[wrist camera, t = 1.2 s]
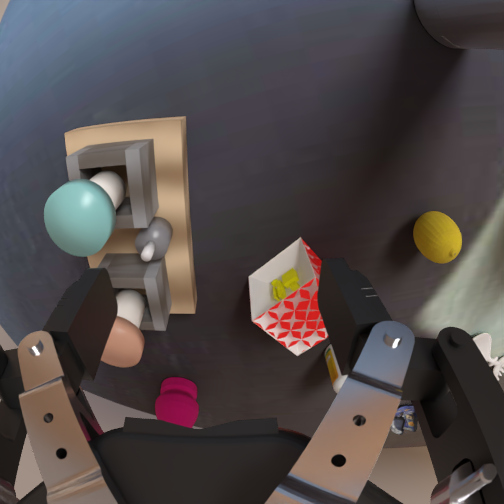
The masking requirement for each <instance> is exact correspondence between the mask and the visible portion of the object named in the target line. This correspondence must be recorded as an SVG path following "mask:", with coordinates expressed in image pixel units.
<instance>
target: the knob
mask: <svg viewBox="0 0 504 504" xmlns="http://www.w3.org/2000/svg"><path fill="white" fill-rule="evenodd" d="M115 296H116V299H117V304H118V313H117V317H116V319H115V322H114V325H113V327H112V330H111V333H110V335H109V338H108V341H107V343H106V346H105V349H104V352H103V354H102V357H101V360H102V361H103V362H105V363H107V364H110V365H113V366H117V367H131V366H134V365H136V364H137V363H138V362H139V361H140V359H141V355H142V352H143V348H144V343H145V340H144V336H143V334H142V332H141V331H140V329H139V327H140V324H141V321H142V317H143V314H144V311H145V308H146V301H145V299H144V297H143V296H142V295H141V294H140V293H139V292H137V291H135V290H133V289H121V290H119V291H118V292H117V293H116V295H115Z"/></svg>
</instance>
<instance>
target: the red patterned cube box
mask: <svg viewBox="0 0 504 504" xmlns="http://www.w3.org/2000/svg"><path fill="white" fill-rule="evenodd" d="M321 263H322V261H321V260H320V259H319V257H318V256H317V255H316V254H315V253H314V252H313V251H312V250H311V248H310V247H309V246H308V245H307V244H306V243H305V241H304V240H303V239H301V237H300V238H299V239H298V240H296V241H295V242H294V243H292V244H291V245H290V246H289V247H287V248H286V249H285V250H283V251H282V252H281V253H279V254H278V255H277V256H275V257H274V258H273V259H271V260H270V261H269V262H267V263H266V264H265V265H264V266H262V267H261V268H260V269H258V270H257V271H256V272H254V273H253V274H252V275H250V276H249V277H248V278H249V291H250V305H251V318H252V322H254V323H255V324H256V325H257V326H259V327H260V328H261V329H263V330H264V331H265V332H267V333H268V334H269V335H270V336H272V337H273V338H274V339H276V340H277V341H278V342H280V343H281V344H282V345H283V346H285V347H286V348H287V349H289V350H290V351H291V352H293V353H294V354H295V355H297V356H298V355H300V354H301V353H303V352H305V351H306V350H308V349H310V348H311V347H313V346H315V345H316V344H318V343H319V342H321V341H323V340H324V339H326V338H327V337H328V334H327V331H326V328H325V325H324V322H323V320H322V317H321V314H320V311H319V308H318V301H317V294H318V286H319V278H320V270H321Z"/></svg>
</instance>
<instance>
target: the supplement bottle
mask: <svg viewBox="0 0 504 504" xmlns="http://www.w3.org/2000/svg"><path fill="white" fill-rule="evenodd" d="M325 358H326V362H327V366H328V370H329V373H330V377H331V381H332V385H333V388H334V390H335V392H336V393H339V391H340V389H341V387H342V385H343V383H344V381H345V380H346V378H347V376H348V375H344V376H342V375H341V372H340V369H339V366H338V363H337V360H336V357H335V354H334V351H333V348H332V345H331V344H330V345H329V346H328V347H327V349H326V351H325Z"/></svg>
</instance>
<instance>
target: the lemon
mask: <svg viewBox="0 0 504 504" xmlns="http://www.w3.org/2000/svg"><path fill="white" fill-rule="evenodd" d="M413 237H414V241H415V244H416V246H417V248H418V249H419V251H420V252H421V253H422V254H423V255H424V256H425V257H426V258H428V259H430V260H431V261H433V262H436V263H447V262H450V261H451V260H453V259H454V258H455V257H456V256H457V255H458V253H459V251H460V249H461V244H462V237H461V233H460V231H459V229H458V227H457V225H456V224H455V223H454V221H453V220H452V219H451V218H450V217H448V216H447V215H445V214H443V213H441V212H437V211H430V212H427V213H424V214H423V215H421V216H420V217H419V218H418V219H417V221H416V223H415V225H414V230H413Z"/></svg>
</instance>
